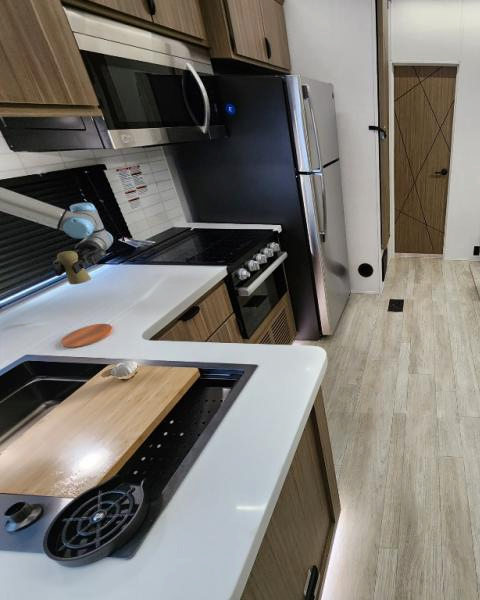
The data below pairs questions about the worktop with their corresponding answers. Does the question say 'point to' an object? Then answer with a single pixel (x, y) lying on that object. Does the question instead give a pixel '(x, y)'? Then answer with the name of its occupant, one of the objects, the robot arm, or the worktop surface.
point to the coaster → (86, 335)
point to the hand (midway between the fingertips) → (65, 271)
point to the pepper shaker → (68, 260)
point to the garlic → (124, 368)
